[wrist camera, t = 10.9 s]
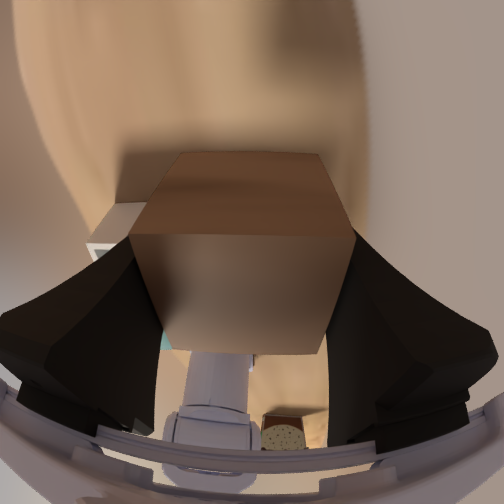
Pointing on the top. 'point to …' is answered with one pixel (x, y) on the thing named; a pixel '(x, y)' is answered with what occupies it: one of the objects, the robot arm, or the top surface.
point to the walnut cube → (244, 252)
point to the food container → (282, 433)
